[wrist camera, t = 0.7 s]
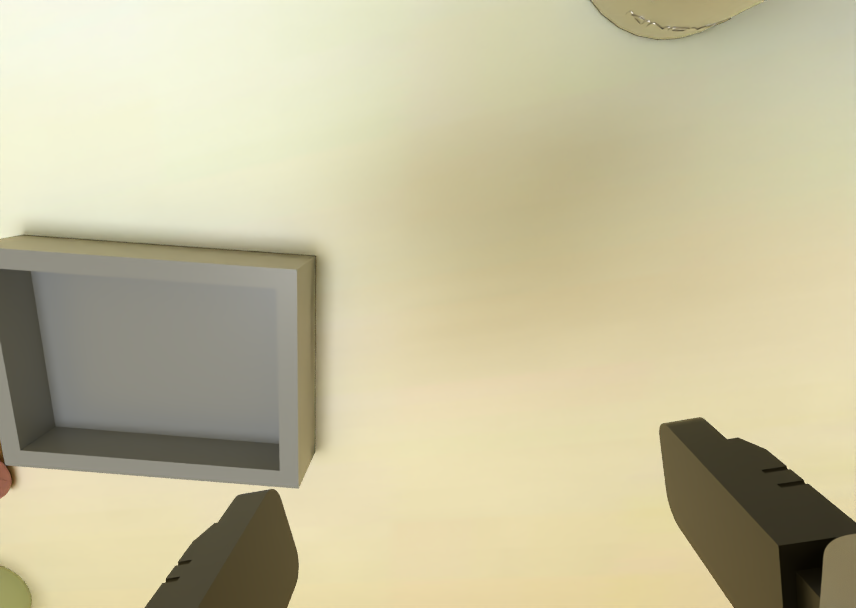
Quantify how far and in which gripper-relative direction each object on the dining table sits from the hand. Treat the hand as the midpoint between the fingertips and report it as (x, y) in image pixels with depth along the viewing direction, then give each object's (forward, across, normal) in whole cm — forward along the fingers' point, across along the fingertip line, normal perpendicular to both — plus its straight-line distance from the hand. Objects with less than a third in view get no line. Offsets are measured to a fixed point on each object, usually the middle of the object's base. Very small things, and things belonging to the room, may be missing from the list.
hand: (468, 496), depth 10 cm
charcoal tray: (+18, +16, -1) cm, 24 cm away
